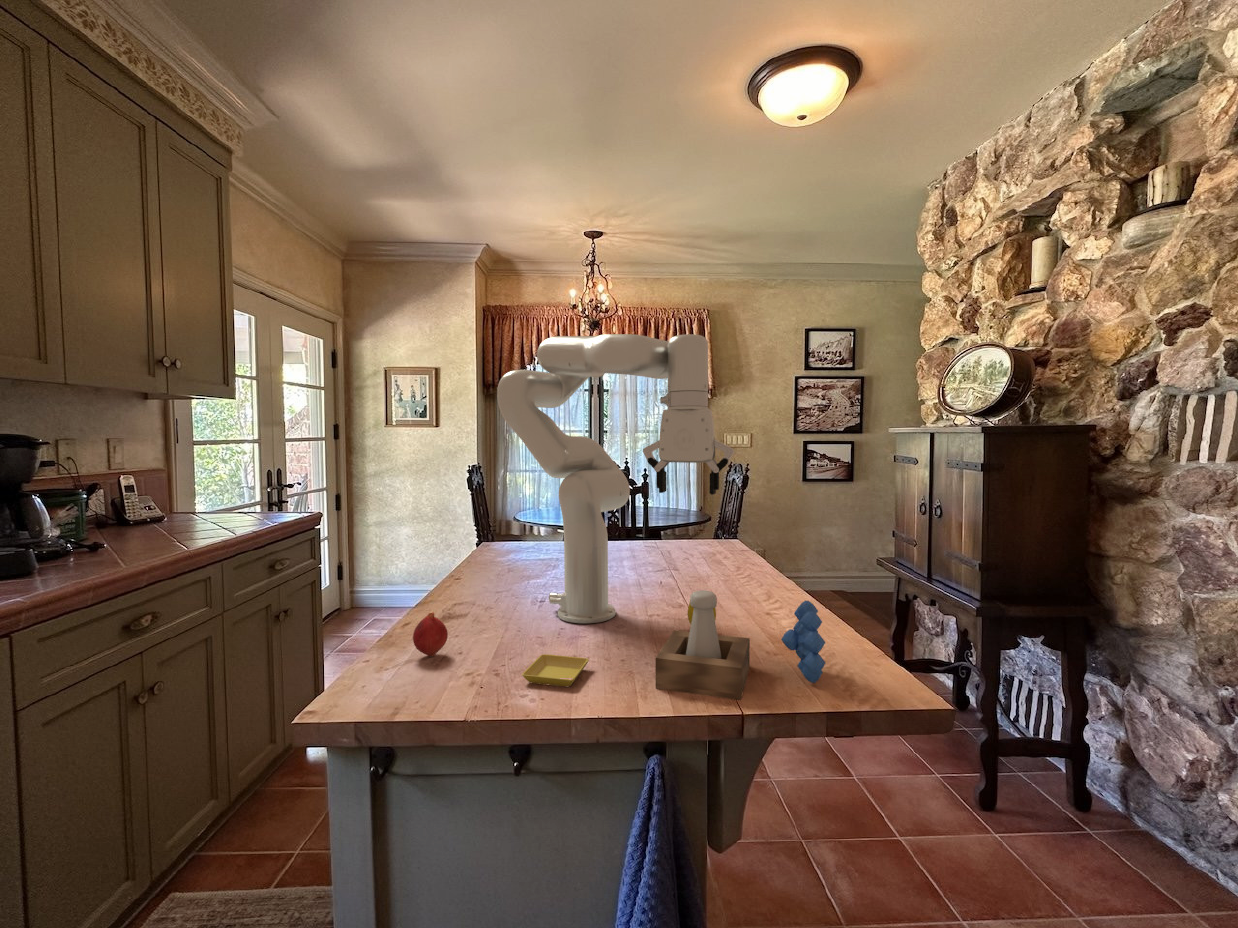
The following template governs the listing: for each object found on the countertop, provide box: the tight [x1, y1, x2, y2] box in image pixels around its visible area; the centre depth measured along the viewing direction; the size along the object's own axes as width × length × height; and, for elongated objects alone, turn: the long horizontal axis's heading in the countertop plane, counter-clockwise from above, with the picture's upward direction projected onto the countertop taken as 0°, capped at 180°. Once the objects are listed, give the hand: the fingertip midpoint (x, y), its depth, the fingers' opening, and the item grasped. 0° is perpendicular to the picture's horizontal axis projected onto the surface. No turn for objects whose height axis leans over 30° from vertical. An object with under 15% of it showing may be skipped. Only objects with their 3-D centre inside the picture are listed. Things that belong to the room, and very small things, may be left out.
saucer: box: [521, 653, 590, 687], centre depth 92 cm, size 9×9×2 cm
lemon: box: [687, 602, 717, 625], centre depth 111 cm, size 6×6×8 cm
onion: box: [412, 611, 449, 657], centre depth 101 cm, size 6×6×8 cm
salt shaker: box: [686, 589, 721, 659], centre depth 91 cm, size 6×6×13 cm
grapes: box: [780, 600, 826, 684], centre depth 91 cm, size 12×7×12 cm, turn 173°
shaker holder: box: [654, 630, 751, 701], centre depth 91 cm, size 13×13×5 cm
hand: (687, 492), depth 107 cm, fingers open, 9 cm apart
